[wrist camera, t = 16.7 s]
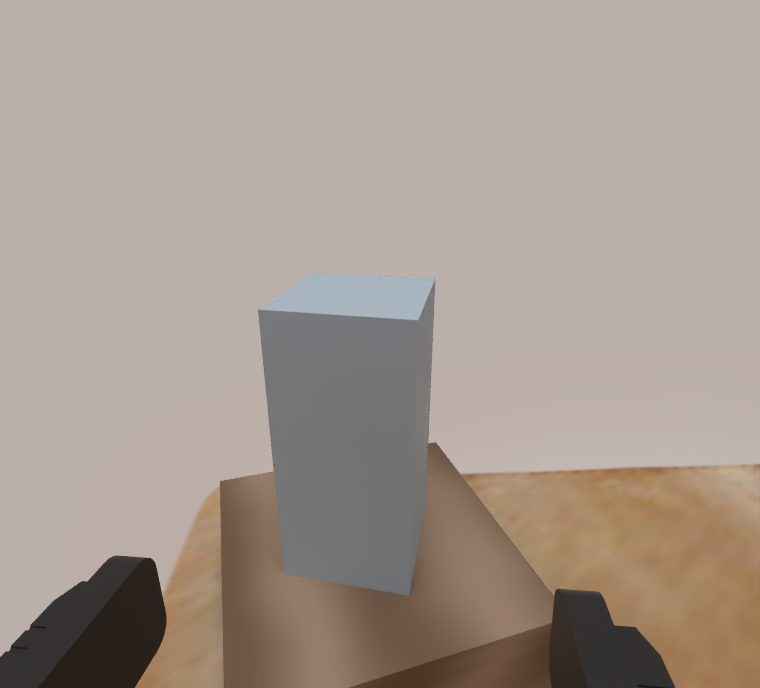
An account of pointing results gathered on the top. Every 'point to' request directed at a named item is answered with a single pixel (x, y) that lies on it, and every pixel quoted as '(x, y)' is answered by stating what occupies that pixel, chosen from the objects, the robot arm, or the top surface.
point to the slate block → (350, 424)
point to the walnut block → (383, 603)
